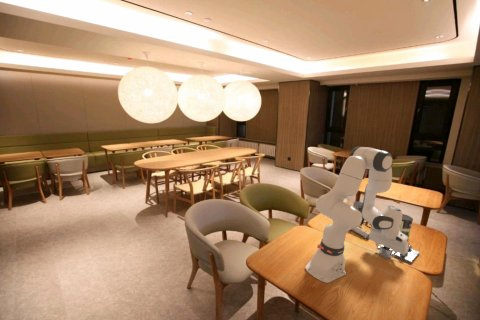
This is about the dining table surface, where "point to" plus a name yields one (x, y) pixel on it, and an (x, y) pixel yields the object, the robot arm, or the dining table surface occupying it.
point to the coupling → (385, 251)
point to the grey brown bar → (361, 232)
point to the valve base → (408, 255)
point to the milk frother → (358, 207)
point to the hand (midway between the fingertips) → (385, 252)
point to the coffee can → (406, 225)
